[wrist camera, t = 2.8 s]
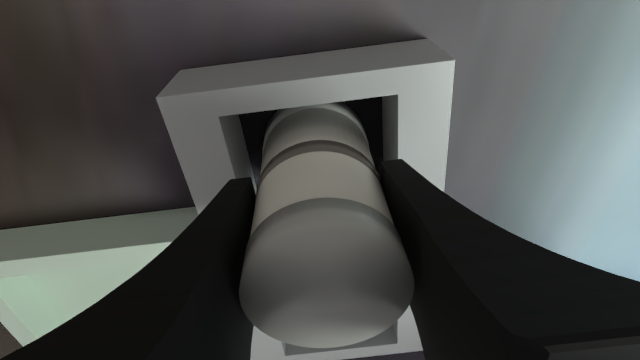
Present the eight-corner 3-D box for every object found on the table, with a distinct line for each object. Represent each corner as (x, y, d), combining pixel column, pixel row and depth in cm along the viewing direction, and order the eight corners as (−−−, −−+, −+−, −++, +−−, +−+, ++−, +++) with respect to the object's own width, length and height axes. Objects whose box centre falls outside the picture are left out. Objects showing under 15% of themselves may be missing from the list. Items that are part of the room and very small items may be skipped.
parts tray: (212, 204, 15) (201, 238, 13) (258, 341, 20) (254, 378, 18) (-11, 231, 15) (-50, 267, 14) (89, 360, 20) (70, 398, 19)
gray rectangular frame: (427, 38, 12) (455, 60, 10) (416, 304, 19) (430, 349, 17) (180, 70, 12) (155, 97, 10) (259, 322, 19) (255, 369, 17)
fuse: (362, 88, 13) (416, 218, 7) (367, 179, 15) (412, 338, 9) (255, 102, 13) (218, 241, 7) (274, 190, 15) (258, 356, 9)
